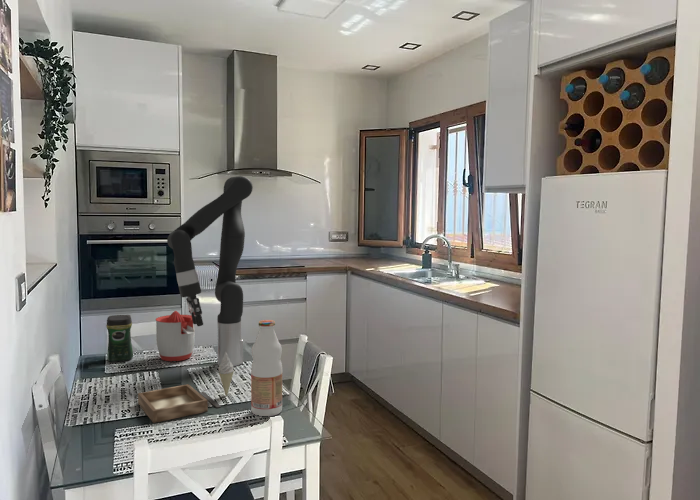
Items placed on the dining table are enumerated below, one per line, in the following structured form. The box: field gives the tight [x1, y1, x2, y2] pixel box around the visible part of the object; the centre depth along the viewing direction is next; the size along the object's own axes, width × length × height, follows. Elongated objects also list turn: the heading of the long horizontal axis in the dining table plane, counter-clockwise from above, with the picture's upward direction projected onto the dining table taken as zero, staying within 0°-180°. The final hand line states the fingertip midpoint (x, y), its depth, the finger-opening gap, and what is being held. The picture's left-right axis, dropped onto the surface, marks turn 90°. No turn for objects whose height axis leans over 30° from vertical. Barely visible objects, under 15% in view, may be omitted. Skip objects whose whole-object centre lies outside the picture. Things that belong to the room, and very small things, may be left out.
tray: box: [137, 383, 222, 424], centre depth 163 cm, size 21×18×4 cm
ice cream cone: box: [218, 351, 235, 397], centre depth 172 cm, size 5×5×15 cm
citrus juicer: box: [155, 310, 196, 362], centre depth 215 cm, size 16×17×20 cm
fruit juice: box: [250, 319, 283, 417], centre depth 158 cm, size 9×9×28 cm
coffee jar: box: [105, 314, 134, 363], centre depth 213 cm, size 10×8×19 cm
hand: (198, 324), depth 195 cm, fingers open, 8 cm apart
